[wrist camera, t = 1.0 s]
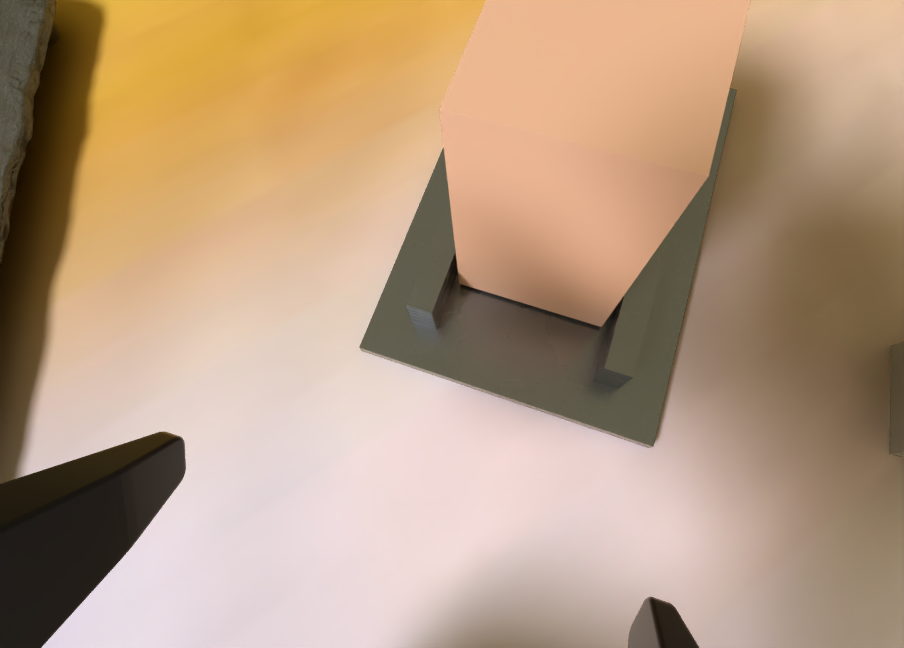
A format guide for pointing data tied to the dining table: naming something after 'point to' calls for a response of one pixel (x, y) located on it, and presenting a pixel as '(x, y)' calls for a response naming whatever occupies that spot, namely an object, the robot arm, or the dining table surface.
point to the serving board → (19, 88)
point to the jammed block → (581, 141)
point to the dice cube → (897, 400)
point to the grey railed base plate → (542, 324)
